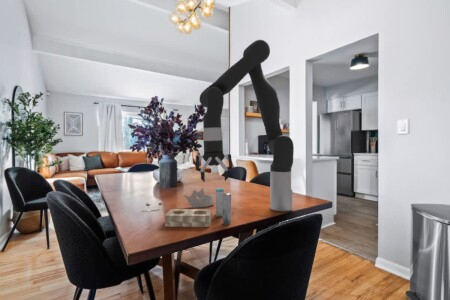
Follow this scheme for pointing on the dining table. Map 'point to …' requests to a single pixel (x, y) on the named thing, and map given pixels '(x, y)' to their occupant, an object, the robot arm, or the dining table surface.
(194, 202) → the grey spiky piece
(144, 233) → the dining table surface
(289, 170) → the robot arm
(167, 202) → the dining table surface
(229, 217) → the round bit
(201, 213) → the socket block
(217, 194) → the square bit
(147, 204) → the diorama
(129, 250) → the dining table surface
